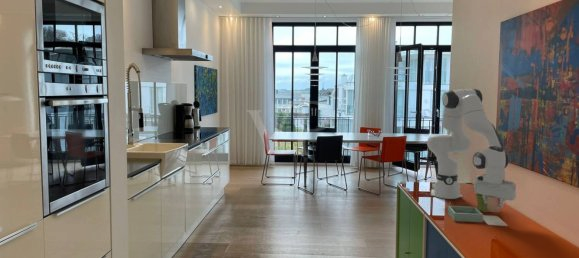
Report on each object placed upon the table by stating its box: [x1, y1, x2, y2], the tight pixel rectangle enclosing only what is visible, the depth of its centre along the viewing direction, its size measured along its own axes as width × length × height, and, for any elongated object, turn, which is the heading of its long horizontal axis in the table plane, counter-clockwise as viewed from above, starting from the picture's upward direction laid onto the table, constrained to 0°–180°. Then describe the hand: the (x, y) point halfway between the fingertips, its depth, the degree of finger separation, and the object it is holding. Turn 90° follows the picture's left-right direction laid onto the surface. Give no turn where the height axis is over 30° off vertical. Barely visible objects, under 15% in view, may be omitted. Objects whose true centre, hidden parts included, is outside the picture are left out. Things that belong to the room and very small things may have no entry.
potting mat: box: [483, 214, 509, 227], centre depth 215 cm, size 16×9×1 cm, turn 171°
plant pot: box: [475, 193, 490, 213], centre depth 232 cm, size 9×9×9 cm
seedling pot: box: [487, 196, 501, 213], centre depth 214 cm, size 6×6×8 cm
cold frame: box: [447, 205, 484, 223], centre depth 220 cm, size 14×14×4 cm
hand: (493, 205), depth 214 cm, fingers closed on seedling pot, 6 cm apart
